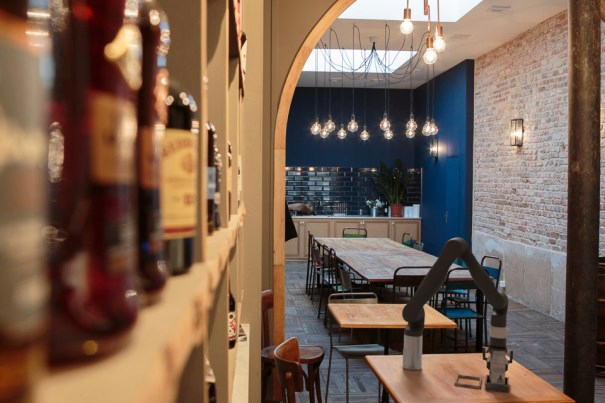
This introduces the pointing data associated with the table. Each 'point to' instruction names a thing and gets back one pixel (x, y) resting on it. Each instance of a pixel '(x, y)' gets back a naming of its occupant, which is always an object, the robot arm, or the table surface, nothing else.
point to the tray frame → (468, 378)
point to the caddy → (496, 385)
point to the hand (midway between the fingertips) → (497, 370)
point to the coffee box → (497, 365)
